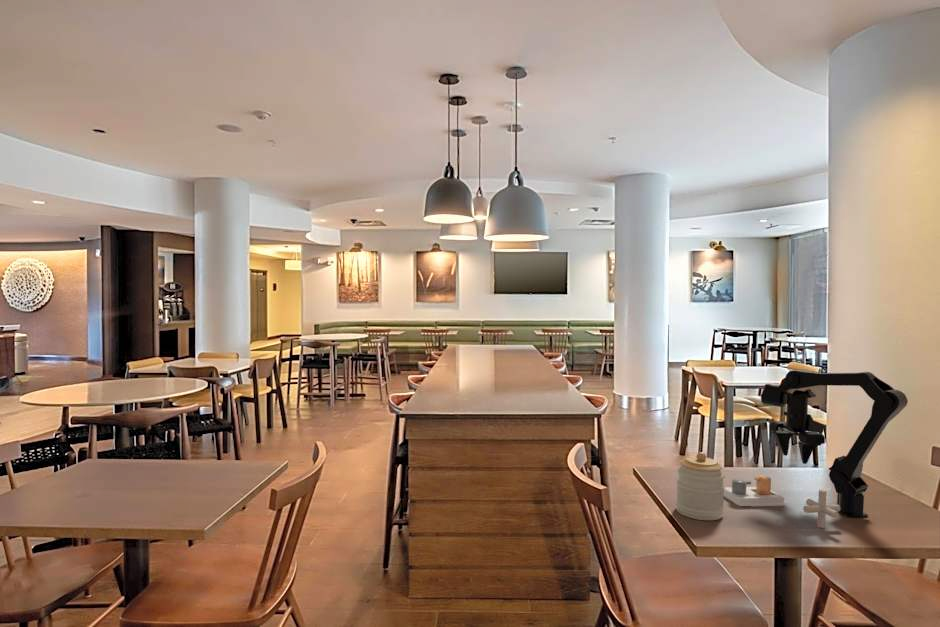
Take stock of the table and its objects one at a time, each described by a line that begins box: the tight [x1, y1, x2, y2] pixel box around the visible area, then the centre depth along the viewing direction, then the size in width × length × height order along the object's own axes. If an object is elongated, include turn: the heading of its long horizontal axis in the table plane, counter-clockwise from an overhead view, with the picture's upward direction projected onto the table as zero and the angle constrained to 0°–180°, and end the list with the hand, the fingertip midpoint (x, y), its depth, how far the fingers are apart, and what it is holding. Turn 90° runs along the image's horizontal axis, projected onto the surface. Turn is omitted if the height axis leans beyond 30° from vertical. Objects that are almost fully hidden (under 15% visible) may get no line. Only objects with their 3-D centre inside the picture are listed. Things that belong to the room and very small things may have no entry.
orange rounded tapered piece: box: [754, 475, 772, 495], centre depth 185 cm, size 4×5×6 cm
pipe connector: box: [802, 489, 840, 529], centre depth 165 cm, size 10×10×10 cm
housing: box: [724, 478, 785, 507], centre depth 185 cm, size 10×14×6 cm
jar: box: [675, 451, 726, 521], centre depth 173 cm, size 13×13×18 cm
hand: (794, 459), depth 188 cm, fingers open, 9 cm apart
